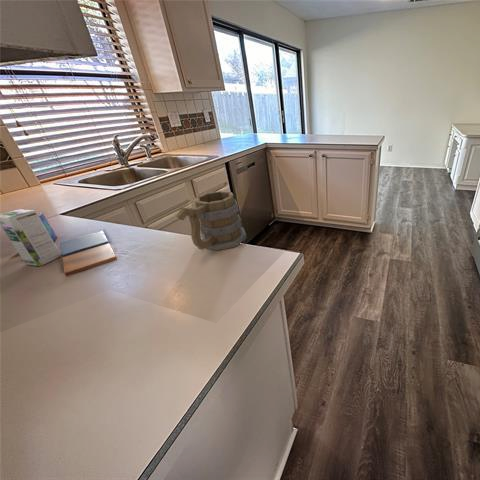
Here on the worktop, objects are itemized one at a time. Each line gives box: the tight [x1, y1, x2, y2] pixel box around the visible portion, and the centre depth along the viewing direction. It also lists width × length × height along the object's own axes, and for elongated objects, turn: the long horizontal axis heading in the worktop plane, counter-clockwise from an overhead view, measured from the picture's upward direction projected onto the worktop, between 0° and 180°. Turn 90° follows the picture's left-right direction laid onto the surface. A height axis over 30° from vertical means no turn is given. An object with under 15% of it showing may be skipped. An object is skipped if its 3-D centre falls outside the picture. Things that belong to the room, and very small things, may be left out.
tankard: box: [176, 190, 248, 252], centre depth 75 cm, size 20×13×15 cm, turn 159°
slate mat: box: [59, 230, 110, 257], centre depth 82 cm, size 11×11×1 cm
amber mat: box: [61, 243, 118, 277], centre depth 73 cm, size 11×11×1 cm
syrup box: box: [0, 208, 62, 267], centre depth 71 cm, size 6×6×14 cm
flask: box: [36, 211, 58, 243], centre depth 82 cm, size 9×3×11 cm, turn 24°
